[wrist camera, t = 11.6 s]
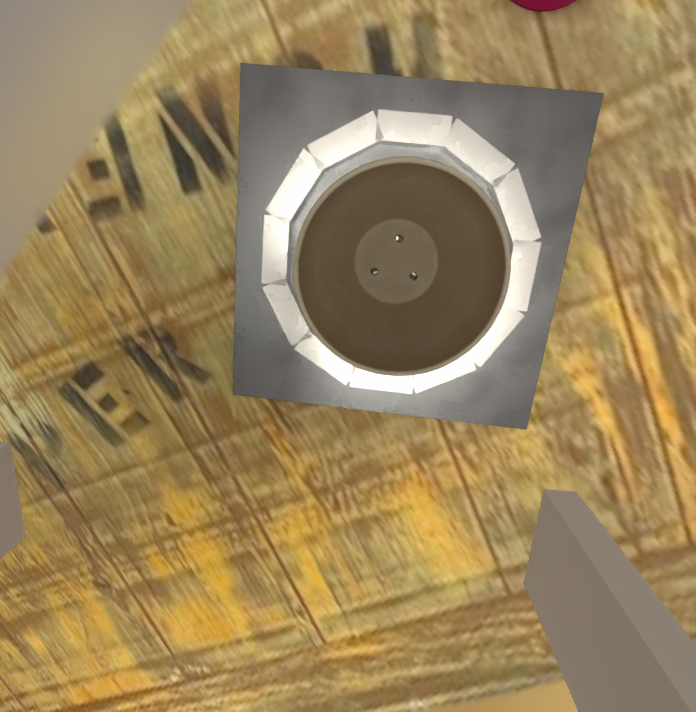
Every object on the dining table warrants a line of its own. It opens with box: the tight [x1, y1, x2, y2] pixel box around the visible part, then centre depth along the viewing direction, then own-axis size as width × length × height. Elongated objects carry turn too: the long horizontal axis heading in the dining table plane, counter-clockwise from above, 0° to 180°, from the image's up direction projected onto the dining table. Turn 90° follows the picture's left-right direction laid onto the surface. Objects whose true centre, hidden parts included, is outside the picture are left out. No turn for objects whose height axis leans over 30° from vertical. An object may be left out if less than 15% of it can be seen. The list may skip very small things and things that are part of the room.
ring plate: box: [233, 63, 604, 429], centre depth 27 cm, size 20×20×2 cm
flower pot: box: [293, 156, 511, 376], centre depth 24 cm, size 10×10×7 cm
